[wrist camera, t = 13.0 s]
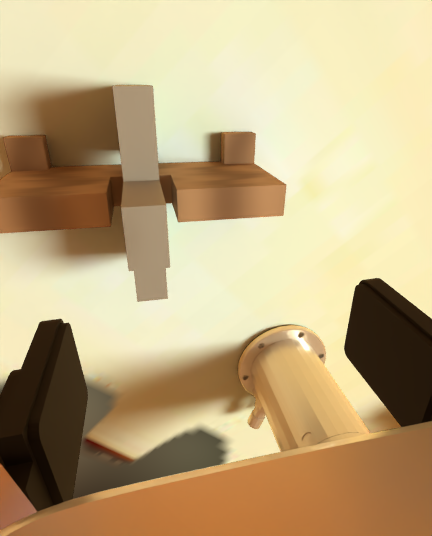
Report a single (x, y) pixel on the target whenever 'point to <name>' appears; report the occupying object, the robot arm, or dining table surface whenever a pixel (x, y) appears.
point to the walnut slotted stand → (111, 187)
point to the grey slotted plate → (142, 191)
